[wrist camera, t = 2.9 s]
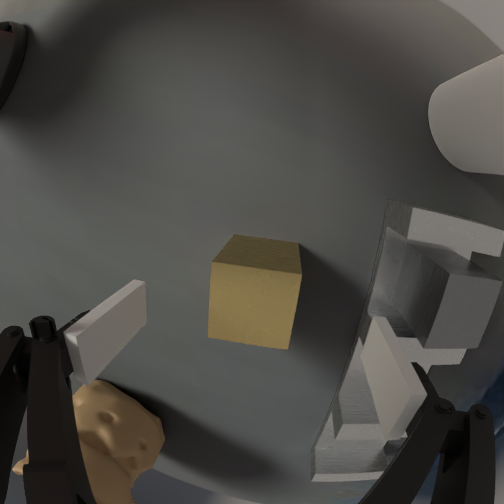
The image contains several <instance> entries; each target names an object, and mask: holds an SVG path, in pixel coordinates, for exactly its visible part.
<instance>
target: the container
mask: <svg viewBox="0 0 504 504" xmlns="http://www.w3.org/2000/svg"><path fill="white" fill-rule="evenodd" d="M72 398H73V406H74V413H75V420H76V426H77V431H78V437H79V442H80V447H81V451H82V456H83V460H84V464H85V468H86V472H87V476H88V479H89V483H90V486H91V490H92V493H93V496H94V498H95V501H96V503H97V504H135V501H134V499H133V496H132V494H131V492H130V488H133V486H134V481H135V479H136V478H137V477H138V476H139V475H140V474H141V473H142V472H144V471H145V470H148V469H150V468H152V467H153V465H154V463H155V461H156V459H157V457H158V454H159V452H160V450H161V448H162V446H163V444H164V441H165V436H164V433H163V429H162V423H161V419H160V418H159V417H157V416H156V415H154V414H152V413H151V412H149V411H148V410H146V409H145V408H144V407H143V406H142V405H141V404H140V403H139V402H138V401H136V400H135V399H133V398H131V397H130V396H128V395H126V394H125V393H123V392H121V391H120V390H119V389H117V388H116V387H114V386H113V385H111V384H110V383H108V382H106V381H102V380H96V379H94V381H93V382H92V383H91V384H90V385H89V386H87V385H85V384H83V386H82V387H80V388H79V389H78V391H77V392H76V393H75V394H74V395H73V396H72ZM28 463H29V456H28V450H27V457H26V458H25V459H23V460H20V461H19V462H18V463H17V464H16V465H15V467H14V468H13V471H14V472H15V473H16V474H20V475H23V465H24V464H28Z"/></svg>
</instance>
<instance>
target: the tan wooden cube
mask: <svg viewBox="0 0 504 504" xmlns="http://www.w3.org/2000/svg"><path fill="white" fill-rule="evenodd" d="M301 278H302V269H301V261H300V253H299V245H298V243H294V242H287V241H280V240H272V239H265V238H257V237H250V236H242V235H233V237H232V238H231V239H230V240H229V241H228V243H227V244H226V245H225V246H224V248H223V249H222V250H221V251H220V252H219V254H218V255H217V256H216V257H215V258H214V260H213V261H212V266H211V282H210V301H209V322H208V337H210V338H215V339H221V340H227V341H232V342H238V343H244V344H251V345H257V346H264V347H271V348H279V349H287V350H288V346H289V341H290V336H291V331H292V326H293V321H294V316H295V311H296V306H297V300H298V295H299V290H300V284H301Z"/></svg>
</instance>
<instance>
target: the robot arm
mask: <svg viewBox="0 0 504 504" xmlns="http://www.w3.org/2000/svg"><path fill="white" fill-rule="evenodd" d="M26 42H27V33H26V29H25V27H24V26H23V25H21V24H18V23H15V22H12V21H5V22H0V108H1V107H2V105H3V103H4V102H5V100H6V98H7V96H8V95H9V93H10V91H11V88H12V86H13V84H14V82H15V79H16V77H17V75H18V72H19V69H20V66H21V63H22V60H23V57H24V53H25V48H26ZM146 323H147V315H146V293H145V282H144V281H139V280H133V281H131V282H130V283H128V284H127V285H126V286H124V287H123V288H121V289H120V290H119V291H117V292H116V293H115V294H113V295H112V296H110V297H109V298H108V299H106V300H105V301H104V302H102V303H101V304H100V305H98V306H97V307H95V308H94V309H93V310H91V311H90V310H88V311H86V312H83V313H81V314H79V315H78V316H77V317H75V319H72V320H71V321H70V322H68V323H67V324H66V325H64V326H63V327H62V328H60V329H59V330H58V331H57V330H56V325H55V321H54V319H53V318H52V317H50V316H38V317H36V318H33V319H32V320H31V321H30V323H29V325H30V329H31V333H32V337H33V338H31V337H26V336H25V335H24V331H23V329H22V328H21V327H19V326H9V327H7V328H6V329H4V330H3V331H2V333H1V334H0V504H4V502H5V499H6V494H7V489H8V483H9V477H10V471H11V466H12V461H13V456H14V451H15V447H16V443H17V439H18V435H19V431H20V427H21V424H22V420H23V416H24V413H25V410H26V407H27V439H28V456H29V463H28V464H24V465H23V481H24V489H25V496H26V502H27V504H97V503H96V501H95V498H94V496H93V493H92V490H91V486H90V483H89V479H88V476H87V472H86V468H85V464H84V460H83V456H82V451H81V447H80V442H79V437H78V431H77V426H76V420H75V413H74V406H73V398H72V389H71V380H70V377H69V375H70V374H71V373H72V372H73V371H74V375H75V378H76V381H78V382H81V383H83V384H85V385H87V386H89V385H90V384H91V383H92V382H93V381H94V379H95V378H96V377H97V376H98V375H99V374H100V373H101V372H102V371H103V369H104V368H105V367H106V366H107V365H108V364H109V363H110V362H111V361H112V360H113V358H114V357H115V356H116V355H117V354H118V353H119V352H120V351H121V350H122V349H123V348H124V347H125V345H126V344H127V343H128V342H129V341H130V340H131V339H132V338H133V337H134V336H135V335H136V334H137V332H138V331H139V330H140V329H141V328H142V327H143V326H144V325H145V324H146ZM360 357H361V360H362V364H363V367H364V370H365V373H366V377H367V380H368V383H369V387H370V390H371V393H372V397H373V400H374V404H375V407H376V411H377V415H378V418H379V422H380V426H381V430H382V434H383V437H384V440H399V439H400V438H401V437H402V435H403V434H404V432H405V431H406V434H407V439H406V440H405V442H404V443H403V445H402V446H401V447H400V449H399V450H398V451H397V454H396V455H395V457H394V458H393V460H392V461H391V462H390V464H389V465H388V467H387V468H386V469H385V471H384V472H383V473H382V475H381V476H380V477H379V479H378V480H377V481H376V482H375V484H374V485H373V486H372V487H371V489H370V490H369V491H368V492H367V494H366V495H365V496H364V497H363V498H362V499H361V501H360V502H359V503H358V504H411V503H412V501H413V500H414V498H415V496H416V495H417V493H418V491H419V490H420V488H421V486H422V484H423V482H424V481H425V479H426V477H427V475H428V473H429V471H430V469H431V468H432V466H433V464H434V462H435V459H436V457H437V455H438V453H441V454H440V460H439V466H438V472H437V477H436V482H435V487H434V491H433V495H432V500H431V503H430V504H494V495H495V439H494V426H493V416H492V413H491V411H490V410H489V409H488V408H487V407H486V406H484V405H481V404H475V405H472V406H471V407H470V409H469V410H468V412H463V411H456V410H455V407H454V405H453V404H452V403H451V402H449V401H448V400H446V399H443V398H439V396H438V394H437V392H436V390H435V388H434V387H433V385H432V383H431V382H430V379H429V377H428V376H427V374H426V372H425V370H424V369H423V367H421V366H420V365H419V364H418V363H417V362H410V360H409V358H408V356H407V355H406V353H405V351H404V349H403V347H402V345H401V344H400V342H399V340H398V338H397V337H396V335H395V333H394V331H393V330H392V328H391V326H390V324H389V323H388V321H387V319H386V318H385V317H377V316H373V319H372V322H371V325H370V329H369V332H368V335H367V338H366V341H365V344H364V347H363V350H362V353H361V356H360Z"/></svg>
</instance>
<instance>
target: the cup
mask: <svg viewBox="0 0 504 504" xmlns="http://www.w3.org/2000/svg"><path fill="white" fill-rule="evenodd" d="M428 120H429V126H430V130H431V134H432V136H433V139H434V141H435V143H436V145H437V147H438V149H439V150H440V152H441V153H442V155H443V156H444V157H445V158H446V159H447V160H448V161H449V162H450V163H451V164H452V165H453V166H455V167H456V168H458V169H460V170H463V171H466V172H475V173H487V174H497V175H504V54H502V55H500V56H498V57H496V58H494V59H491V60H489V61H487V62H485V63H483V64H481V65H478V66H476V67H474V68H472V69H470V70H468V71H466V72H464V73H462V74H460V75H458V76H456V77H454V78H452V79H450V80H448V81H446V82H444V83H442V84H440V85H439V86H438V87H437V88H436V89H435V90H434V91H433V93H432V95H431V97H430V101H429V106H428Z"/></svg>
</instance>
